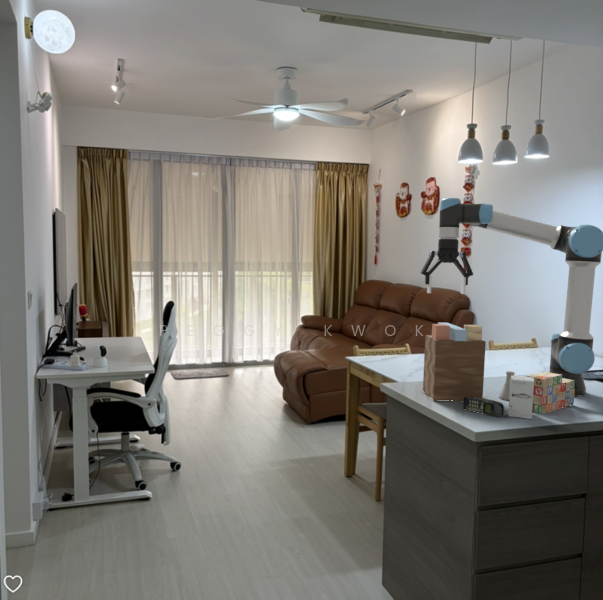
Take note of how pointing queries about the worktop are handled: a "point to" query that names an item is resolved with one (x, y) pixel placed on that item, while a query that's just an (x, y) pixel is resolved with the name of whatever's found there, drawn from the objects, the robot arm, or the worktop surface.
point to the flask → (506, 386)
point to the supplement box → (521, 397)
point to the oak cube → (473, 332)
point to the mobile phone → (484, 406)
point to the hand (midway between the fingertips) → (445, 293)
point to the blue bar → (457, 332)
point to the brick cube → (440, 331)
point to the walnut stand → (453, 369)
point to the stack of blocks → (551, 392)
